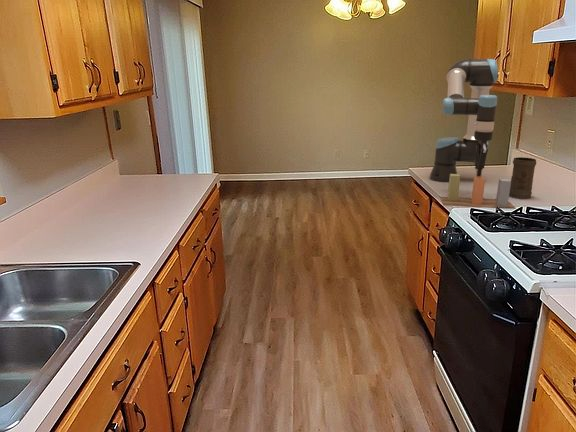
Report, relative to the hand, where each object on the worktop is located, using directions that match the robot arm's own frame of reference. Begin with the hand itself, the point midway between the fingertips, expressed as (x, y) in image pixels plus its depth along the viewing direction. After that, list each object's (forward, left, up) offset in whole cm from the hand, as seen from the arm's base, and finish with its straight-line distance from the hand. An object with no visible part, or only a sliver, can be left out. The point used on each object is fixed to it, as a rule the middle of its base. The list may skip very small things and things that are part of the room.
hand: (477, 182), depth 211 cm
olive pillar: (-1, -10, -9) cm, 13 cm away
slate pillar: (+6, +10, -9) cm, 15 cm away
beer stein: (-15, +23, -11) cm, 29 cm away
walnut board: (+2, 0, -10) cm, 10 cm away
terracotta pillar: (+3, 0, -9) cm, 10 cm away
